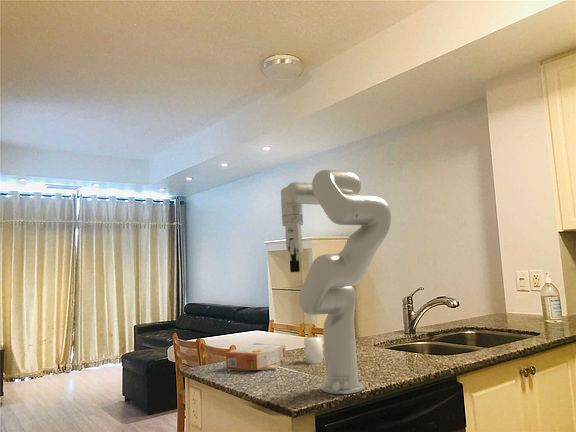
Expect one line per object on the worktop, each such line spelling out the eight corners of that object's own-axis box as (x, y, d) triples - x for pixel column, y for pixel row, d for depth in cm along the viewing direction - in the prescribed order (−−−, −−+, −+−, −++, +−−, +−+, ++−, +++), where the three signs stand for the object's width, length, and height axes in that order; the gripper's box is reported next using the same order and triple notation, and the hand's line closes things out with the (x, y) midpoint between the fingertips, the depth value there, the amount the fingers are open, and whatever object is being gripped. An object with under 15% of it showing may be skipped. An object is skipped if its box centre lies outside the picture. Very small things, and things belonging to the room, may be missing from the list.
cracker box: (256, 371, 154) (286, 359, 172) (256, 354, 155) (286, 343, 173) (225, 368, 161) (257, 357, 179) (225, 352, 162) (257, 342, 180)
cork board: (275, 370, 158) (275, 368, 158) (227, 371, 160) (227, 369, 160) (282, 361, 173) (282, 359, 173) (238, 362, 176) (238, 360, 176)
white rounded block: (322, 363, 166) (321, 339, 167) (304, 364, 167) (303, 339, 168) (323, 359, 172) (322, 336, 174) (306, 360, 173) (305, 337, 175)
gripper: (300, 217, 149) (303, 271, 147) (305, 222, 164) (307, 271, 162) (278, 219, 150) (281, 272, 148) (285, 223, 165) (287, 272, 163)
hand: (295, 271), depth 155 cm, fingers closed
